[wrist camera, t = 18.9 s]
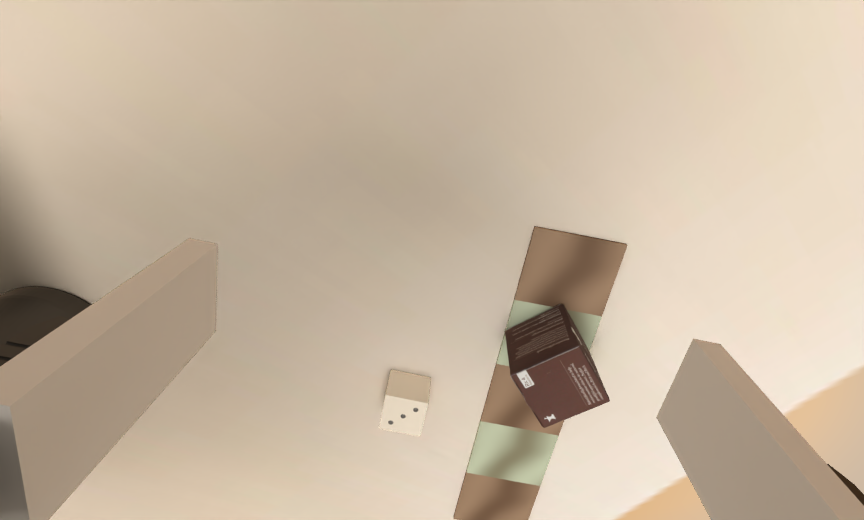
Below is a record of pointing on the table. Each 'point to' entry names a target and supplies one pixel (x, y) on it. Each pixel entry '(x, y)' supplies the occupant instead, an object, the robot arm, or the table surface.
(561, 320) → the box
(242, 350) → the table surface
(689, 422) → the robot arm
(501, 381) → the track
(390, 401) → the die
